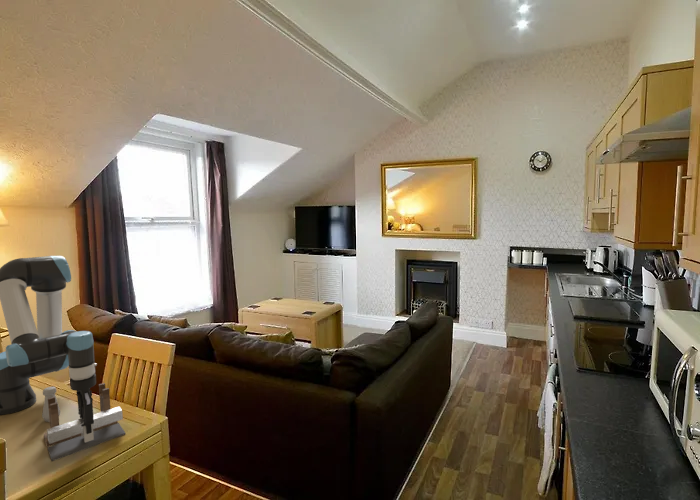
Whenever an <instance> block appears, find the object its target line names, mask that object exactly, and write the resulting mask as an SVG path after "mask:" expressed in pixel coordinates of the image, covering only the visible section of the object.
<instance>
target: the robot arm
mask: <svg viewBox="0 0 700 500" xmlns="http://www.w3.org/2000/svg"><path fill="white" fill-rule="evenodd" d="M71 281H72V273H71V269H70V266H69V263H68V261H67V259H66V257H64V256H63V255H48V256H47V255H46V256H35V257H20V258H15V259H12V260H9V261H8V262H6V263H5V264H3V265H2V266H0V305H1V309H2V312H3V317H4V320H5V324H6V328H7V332H8V337H9V339H10V343H11V344H8V345H6V347H5V351H2V352H0V416H2V415H8V414H14V413H18V412H20V411H23V410H25V409H28V408H29V407H31V406H33V405H34V404H35V403H36V402H37V395H36V392H35V391H34V389H33V388H32V386H31V384H30V379H31V378H35V377H38V376H42V375H46V374H51V373H54V372H55V373H56V372H59V371H61V370H65V369H67V368H68V374H69V378H70V379H69V384H70V389H71V390H72V391H76V392H75V393H76V396H77V411H78V415H79V419H81V418H83V420H84V424H82V425H81V426H83V431H84V432H83V433H81V436H82V437H83V436H84V442H85V443H86V442H88V441H91V440H94V436H93V432H94V431H93V424H94V418H93V414H94V407H93V402H94V399H93V397H92V396H93V392H92V390H91V388H93V387H94V386H95V385H96V384H97V374H96V367H97V365H98V363H96V362H95V349H94V348H95V347H94V343H95V341H94V337H93V336H94V335H93V333H92V332H91V331H89V330H79V331H77V330H73V329H69V330H64V331H63V296H62V295H63V290H65V289H66V287H67V284H68V283H70V282H71ZM29 287H30V289H31V291H32V292H35V297H36V298H35V299H36V322H35V319H34V316H33V313H32V309H31V306H30V303H29V299H28V296H27V293H26V290H27V288H29Z"/></svg>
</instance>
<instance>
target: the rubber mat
mask: <svg viewBox="0 0 700 500" xmlns="http://www.w3.org/2000/svg"><path fill="white" fill-rule="evenodd" d="M124 435H127V434H126V432H125V430H124V428H123V427H122V426H121V424H120V422H118V423H116V424H113V425H110V426H107V427H104V428H102V429H99V430H96V431H93V436H94V440H91V441H88V442H86V443H85V442H84V436H83V437H82V436H78V437H75V438H72V439H69V440H66V441H63V442H61V443H58V444H55V445H52V446H49V447H47V451H48V453H49V457H50V459H51V462H53V461H56V460H59V459H61V458H64V457H67V456H70V455H73V454H76V453H78V452H81V451H84V450H87V449H89V448H91V447H96V446H98V445H100V444H102V443H105V442H108V441H111V440H113V439H117V438H119V437H122V436H124Z"/></svg>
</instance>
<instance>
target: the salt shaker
mask: <svg viewBox="0 0 700 500" xmlns="http://www.w3.org/2000/svg"><path fill="white" fill-rule="evenodd" d="M56 393H57V387H55V386H48V387H45V388H44V389H43V390H42V395H43V396H44V402H43V407H42V415H41V417H42V419H43V420H44V422H46V423H50V420H49V408H48V398H51V397H55V403H58V414H59V416H61V408H60V406H59V401H58V399H57V396H56Z"/></svg>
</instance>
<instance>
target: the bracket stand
mask: <svg viewBox="0 0 700 500" xmlns="http://www.w3.org/2000/svg"><path fill="white" fill-rule="evenodd" d="M98 392H99V409H100V412H103V411H106V410H109V409H111V397H110V396H111V395H110V388H107V387H106V383H105V382H103V383H99V384H98ZM58 405H59V402H58V403H55V397H51V398H48V408H49V420H50V422H49V428H52V427H55V426H59V425H60V415H59V414H58ZM117 423H119V421H116V422H113V423H110V424H107V425H104V426H101V427H98V428H95V429H93V432H94V431H97V430H100V429H103V428H106V427H109V426H112V425H114V424H117ZM79 436H81V433H80V434H77V435H74V436H71V437H68V438H65V439H63V440H60V441H57V442H54V443H51V444H49V441H48V437H47V432H44V433H43V440H44V443H45V445H46V447H47V448H48V447H50V446H53V445H56V444H59V443H62V442H65V441H68V440H71V439H74V438H76V437H79Z"/></svg>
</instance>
